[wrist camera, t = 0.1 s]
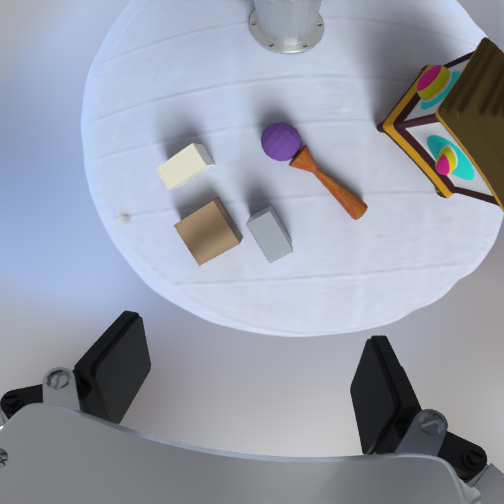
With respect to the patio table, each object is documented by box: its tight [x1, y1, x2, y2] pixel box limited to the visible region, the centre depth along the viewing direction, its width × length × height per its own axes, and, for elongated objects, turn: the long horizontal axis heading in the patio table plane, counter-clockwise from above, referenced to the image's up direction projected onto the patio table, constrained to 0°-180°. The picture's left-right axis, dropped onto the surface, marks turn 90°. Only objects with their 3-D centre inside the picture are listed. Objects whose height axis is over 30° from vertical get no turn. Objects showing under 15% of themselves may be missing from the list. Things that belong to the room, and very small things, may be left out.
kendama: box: [261, 122, 367, 220], centre depth 41 cm, size 6×6×20 cm
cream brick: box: [156, 143, 215, 190], centre depth 42 cm, size 7×4×6 cm, turn 121°
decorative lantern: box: [377, 37, 504, 212], centre depth 24 cm, size 20×20×30 cm
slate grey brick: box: [246, 205, 293, 263], centre depth 44 cm, size 7×4×6 cm, turn 31°
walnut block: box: [174, 197, 243, 266], centre depth 46 cm, size 8×8×4 cm
